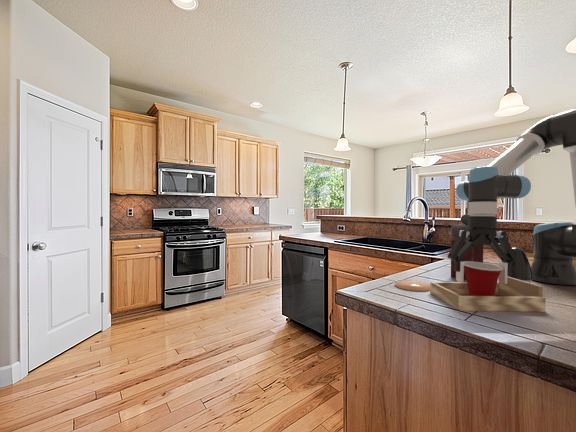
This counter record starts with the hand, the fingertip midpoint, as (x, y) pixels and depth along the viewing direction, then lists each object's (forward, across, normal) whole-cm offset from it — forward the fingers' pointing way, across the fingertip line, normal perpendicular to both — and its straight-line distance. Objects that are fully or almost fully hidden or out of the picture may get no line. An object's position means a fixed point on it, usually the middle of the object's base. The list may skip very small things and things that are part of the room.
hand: (481, 282), depth 89 cm
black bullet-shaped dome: (+6, -26, -20) cm, 34 cm away
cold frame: (+6, 0, 0) cm, 6 cm away
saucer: (+6, +14, -18) cm, 23 cm away
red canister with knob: (+6, -15, -32) cm, 36 cm away
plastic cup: (+6, 0, 0) cm, 6 cm away
